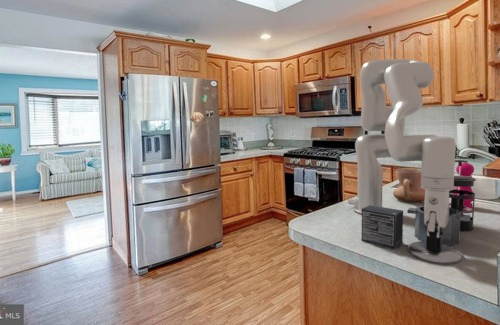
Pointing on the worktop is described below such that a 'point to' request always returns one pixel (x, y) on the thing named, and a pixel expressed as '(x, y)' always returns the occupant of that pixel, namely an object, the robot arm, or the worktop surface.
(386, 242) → the small box
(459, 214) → the pot
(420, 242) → the lid
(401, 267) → the worktop surface
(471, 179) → the french press
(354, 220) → the worktop surface
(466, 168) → the pepper mill
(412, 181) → the ceramic jug
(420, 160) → the robot arm
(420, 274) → the worktop surface
